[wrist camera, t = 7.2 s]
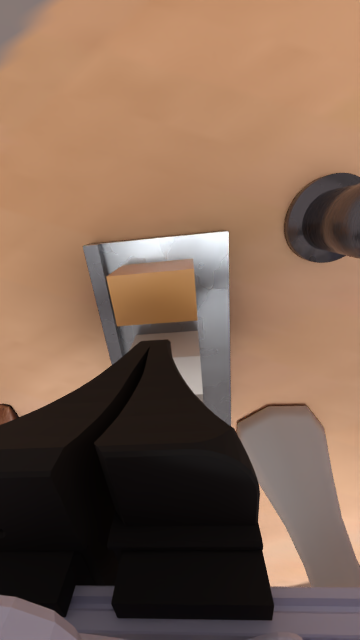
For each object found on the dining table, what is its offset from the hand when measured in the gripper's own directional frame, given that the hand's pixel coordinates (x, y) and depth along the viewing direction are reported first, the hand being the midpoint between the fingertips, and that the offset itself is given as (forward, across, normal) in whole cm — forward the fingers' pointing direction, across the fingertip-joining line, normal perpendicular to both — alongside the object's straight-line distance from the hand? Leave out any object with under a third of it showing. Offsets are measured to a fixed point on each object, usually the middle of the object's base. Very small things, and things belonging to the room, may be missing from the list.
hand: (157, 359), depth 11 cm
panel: (+5, 0, +2) cm, 6 cm away
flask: (+6, -8, +12) cm, 15 cm away
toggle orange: (+4, 0, -2) cm, 5 cm away
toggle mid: (+4, 0, +2) cm, 5 cm away
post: (+5, -9, -5) cm, 12 cm away
